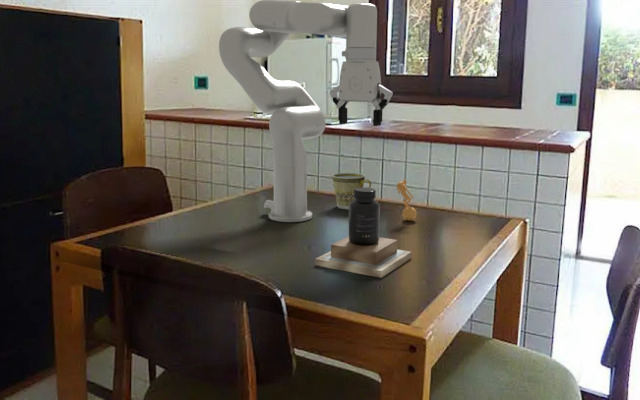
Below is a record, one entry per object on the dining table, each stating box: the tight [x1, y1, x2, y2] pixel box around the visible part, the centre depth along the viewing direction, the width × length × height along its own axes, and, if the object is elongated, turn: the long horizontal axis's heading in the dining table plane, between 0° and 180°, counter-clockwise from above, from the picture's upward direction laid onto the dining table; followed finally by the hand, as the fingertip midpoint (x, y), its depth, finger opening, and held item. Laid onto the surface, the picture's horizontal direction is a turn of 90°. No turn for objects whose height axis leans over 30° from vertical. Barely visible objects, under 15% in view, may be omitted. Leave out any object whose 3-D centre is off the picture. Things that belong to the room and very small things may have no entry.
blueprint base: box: [314, 235, 413, 279], centre depth 141 cm, size 16×16×4 cm
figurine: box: [396, 179, 418, 222], centre depth 177 cm, size 8×6×12 cm
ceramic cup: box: [331, 172, 372, 210], centre depth 193 cm, size 13×10×10 cm
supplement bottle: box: [348, 186, 381, 246], centre depth 139 cm, size 7×7×12 cm
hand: (359, 124), depth 160 cm, fingers open, 9 cm apart
